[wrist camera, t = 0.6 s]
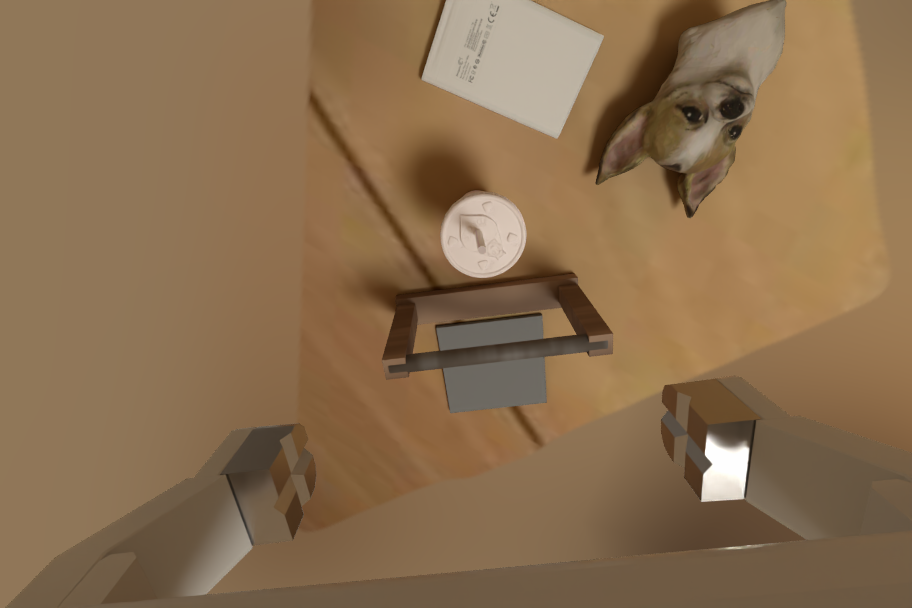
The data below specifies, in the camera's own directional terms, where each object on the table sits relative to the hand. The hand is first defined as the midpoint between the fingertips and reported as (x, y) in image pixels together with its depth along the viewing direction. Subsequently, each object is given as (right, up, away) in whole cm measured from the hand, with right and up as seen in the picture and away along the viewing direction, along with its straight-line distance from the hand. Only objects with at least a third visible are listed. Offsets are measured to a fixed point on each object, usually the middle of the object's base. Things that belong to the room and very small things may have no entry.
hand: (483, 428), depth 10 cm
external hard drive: (+4, +23, +26) cm, 35 cm away
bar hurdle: (+2, +3, +34) cm, 34 cm away
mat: (+3, -4, +37) cm, 38 cm away
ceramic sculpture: (+18, +19, +28) cm, 38 cm away
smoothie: (+1, +12, +31) cm, 33 cm away
